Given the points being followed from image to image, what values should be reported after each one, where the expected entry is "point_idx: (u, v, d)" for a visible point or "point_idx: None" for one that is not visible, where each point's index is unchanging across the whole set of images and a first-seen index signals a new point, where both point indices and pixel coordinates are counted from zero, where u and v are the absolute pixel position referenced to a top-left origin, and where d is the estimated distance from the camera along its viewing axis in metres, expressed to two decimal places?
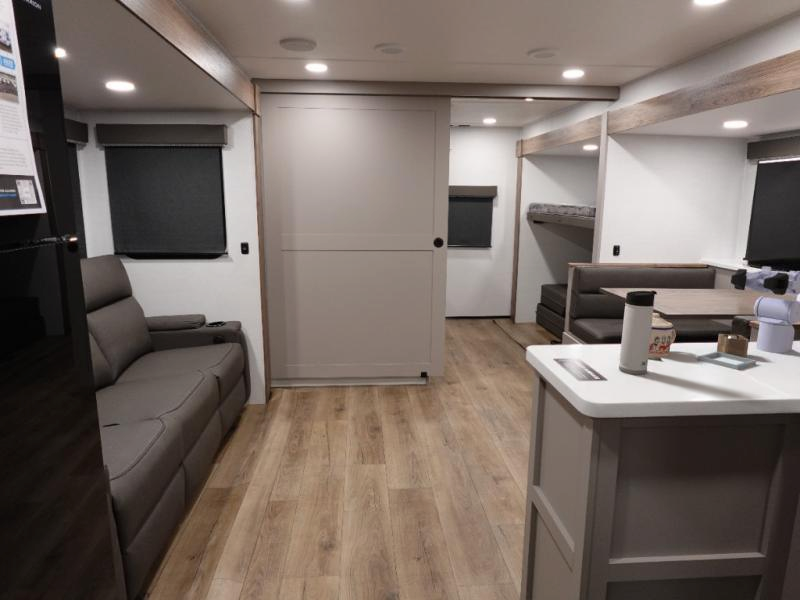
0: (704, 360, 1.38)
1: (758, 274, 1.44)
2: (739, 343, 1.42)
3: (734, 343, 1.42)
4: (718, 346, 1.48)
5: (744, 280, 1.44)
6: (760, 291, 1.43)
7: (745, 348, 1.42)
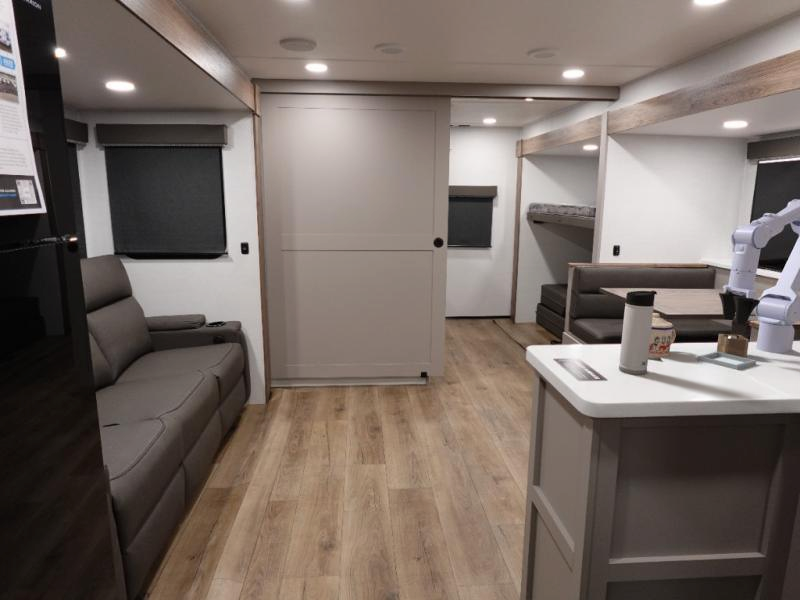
0: (704, 360, 1.38)
1: None
2: (739, 343, 1.42)
3: (734, 343, 1.42)
4: (718, 346, 1.48)
5: (733, 297, 1.46)
6: None
7: (745, 348, 1.42)
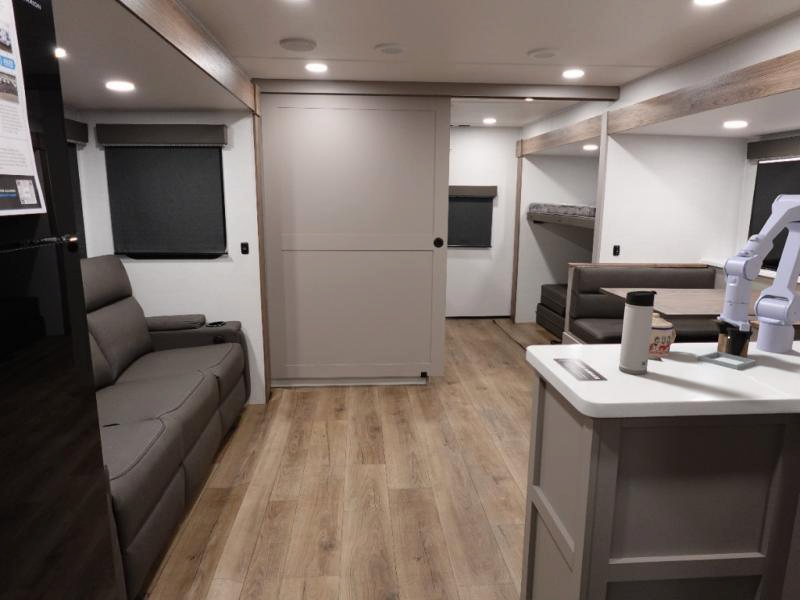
0: (704, 360, 1.38)
1: None
2: None
3: None
4: (718, 346, 1.47)
5: (729, 326, 1.47)
6: None
7: (745, 348, 1.42)
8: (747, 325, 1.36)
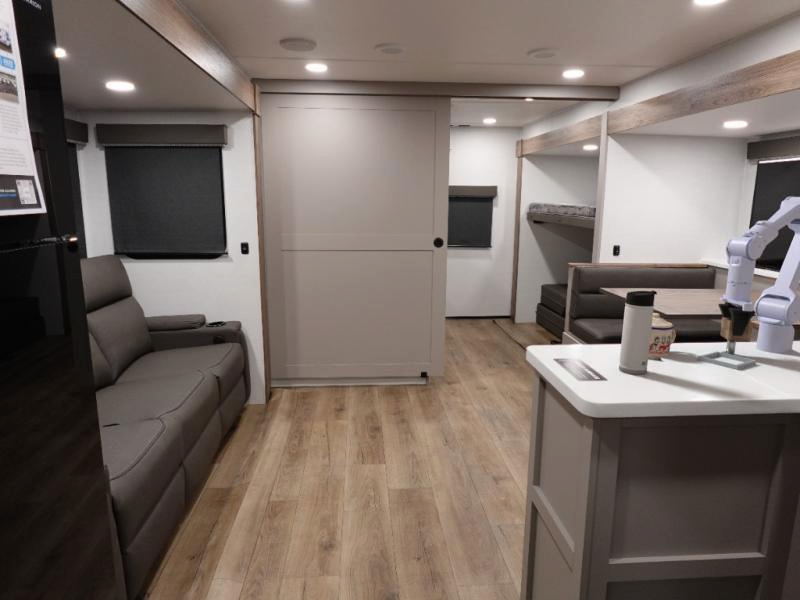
0: (704, 360, 1.38)
1: None
2: None
3: None
4: (721, 329, 1.46)
5: (732, 307, 1.46)
6: None
7: (749, 331, 1.41)
8: (750, 305, 1.35)
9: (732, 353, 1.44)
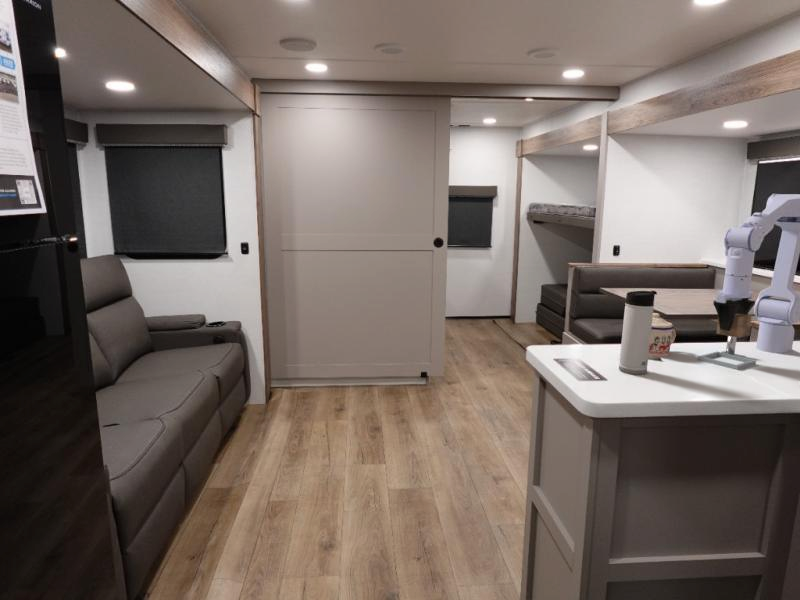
0: (704, 360, 1.38)
1: None
2: None
3: None
4: None
5: (740, 303, 1.37)
6: (747, 297, 1.33)
7: (737, 326, 1.33)
8: (722, 296, 1.31)
9: (732, 353, 1.44)
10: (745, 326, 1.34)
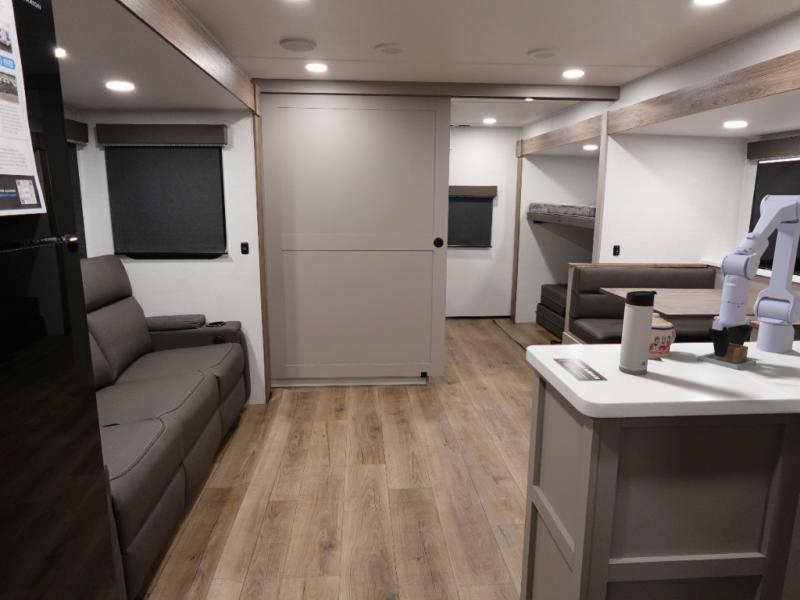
0: (704, 360, 1.38)
1: None
2: (727, 351, 1.35)
3: None
4: None
5: (738, 329, 1.39)
6: None
7: (734, 358, 1.34)
8: (718, 324, 1.32)
9: None
10: (741, 357, 1.35)
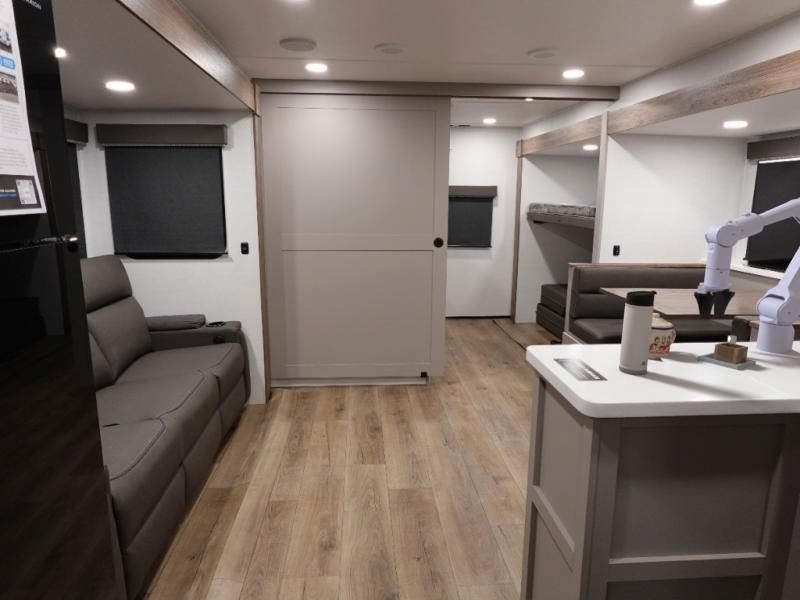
0: (704, 360, 1.38)
1: None
2: (727, 351, 1.35)
3: (723, 351, 1.36)
4: None
5: (721, 294, 1.51)
6: (726, 288, 1.47)
7: (734, 358, 1.34)
8: (703, 288, 1.44)
9: None
10: (741, 357, 1.35)
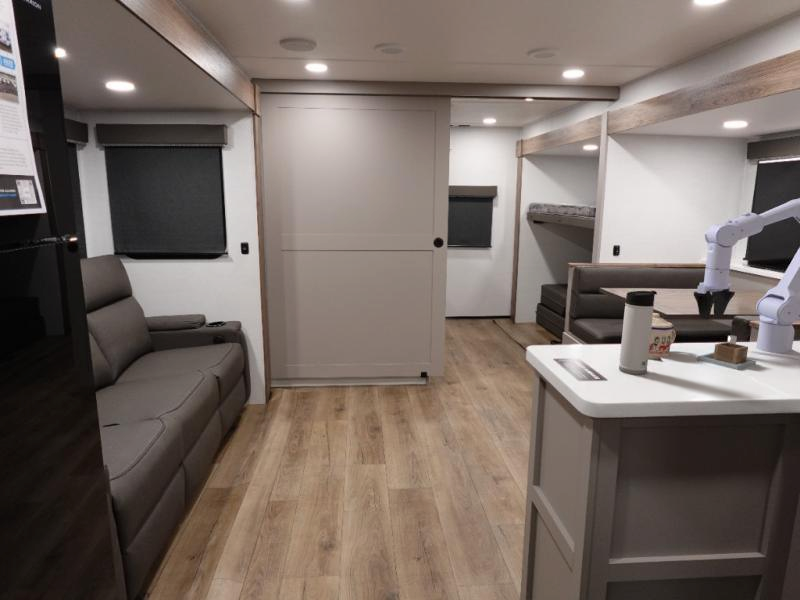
0: (704, 360, 1.38)
1: None
2: (727, 351, 1.35)
3: (723, 351, 1.36)
4: None
5: (721, 294, 1.51)
6: (725, 288, 1.47)
7: (734, 358, 1.34)
8: (702, 287, 1.45)
9: None
10: (741, 357, 1.35)
